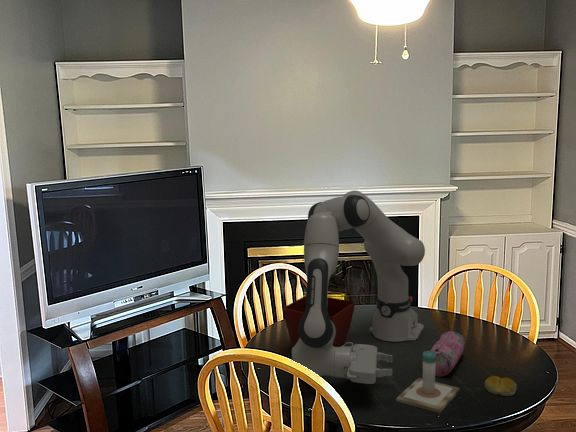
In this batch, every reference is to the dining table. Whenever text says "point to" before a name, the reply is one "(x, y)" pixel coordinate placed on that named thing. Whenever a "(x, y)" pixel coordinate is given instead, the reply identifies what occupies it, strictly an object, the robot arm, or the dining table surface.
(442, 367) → the pencil case
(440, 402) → the picture frame
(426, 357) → the marker
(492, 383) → the bread roll
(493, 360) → the dining table surface
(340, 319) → the plant pot
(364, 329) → the dining table surface
